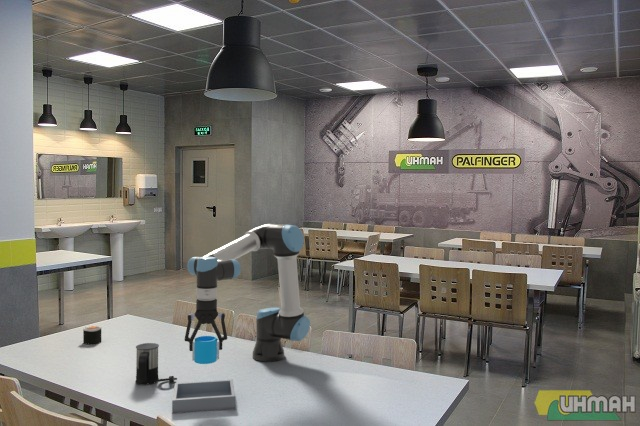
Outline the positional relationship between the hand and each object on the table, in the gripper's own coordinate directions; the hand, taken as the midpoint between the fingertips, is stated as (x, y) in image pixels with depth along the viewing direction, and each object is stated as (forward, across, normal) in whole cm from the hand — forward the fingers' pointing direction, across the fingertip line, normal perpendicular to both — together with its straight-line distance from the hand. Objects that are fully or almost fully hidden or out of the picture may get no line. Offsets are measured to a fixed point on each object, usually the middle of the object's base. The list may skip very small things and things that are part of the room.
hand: (205, 358), depth 195 cm
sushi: (+16, -57, +86) cm, 104 cm away
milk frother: (+16, -20, +23) cm, 34 cm away
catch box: (+16, 0, -1) cm, 16 cm away
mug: (0, +1, 0) cm, 1 cm away
